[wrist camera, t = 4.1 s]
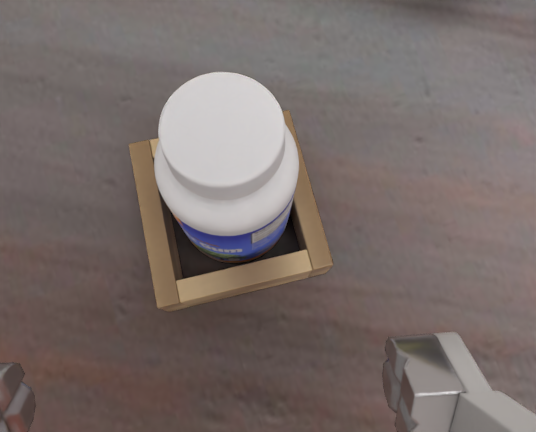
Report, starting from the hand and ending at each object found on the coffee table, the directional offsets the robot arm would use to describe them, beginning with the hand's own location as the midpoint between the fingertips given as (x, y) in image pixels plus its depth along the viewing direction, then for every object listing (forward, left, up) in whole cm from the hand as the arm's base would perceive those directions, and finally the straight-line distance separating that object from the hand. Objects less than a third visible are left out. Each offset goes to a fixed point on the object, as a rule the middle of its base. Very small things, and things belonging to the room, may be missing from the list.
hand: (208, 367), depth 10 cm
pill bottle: (+1, +7, -12) cm, 14 cm away
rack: (+1, +7, -12) cm, 13 cm away
